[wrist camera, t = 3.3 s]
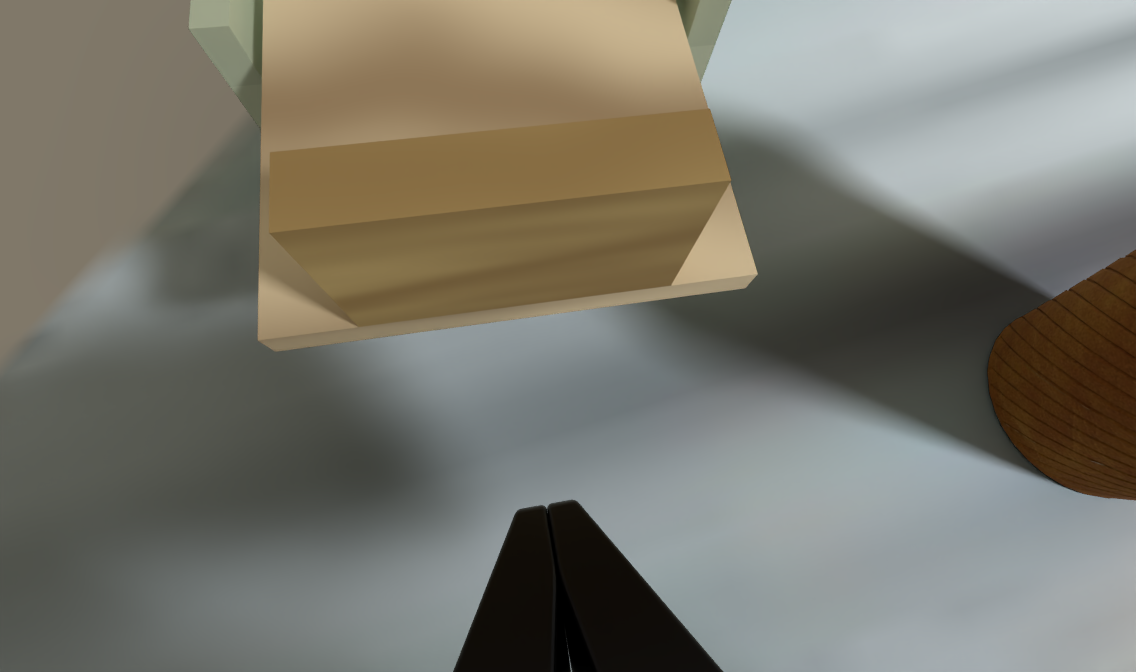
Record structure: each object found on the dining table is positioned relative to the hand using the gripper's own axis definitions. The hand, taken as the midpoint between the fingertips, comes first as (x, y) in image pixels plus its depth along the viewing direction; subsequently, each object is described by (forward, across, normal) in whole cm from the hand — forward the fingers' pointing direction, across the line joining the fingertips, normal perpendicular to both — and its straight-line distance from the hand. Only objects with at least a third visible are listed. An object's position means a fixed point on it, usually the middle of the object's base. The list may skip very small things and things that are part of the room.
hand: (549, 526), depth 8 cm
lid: (+7, 0, -4) cm, 9 cm away
